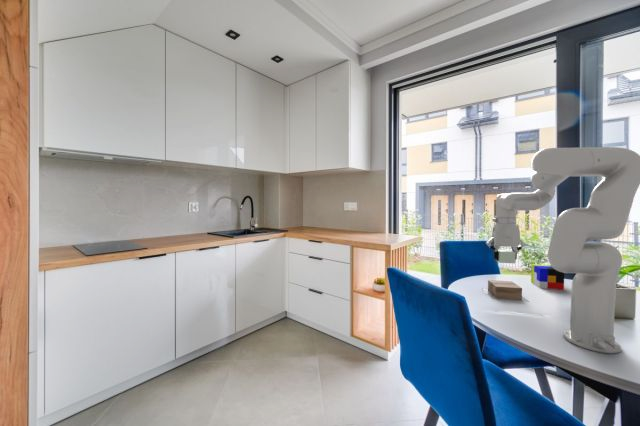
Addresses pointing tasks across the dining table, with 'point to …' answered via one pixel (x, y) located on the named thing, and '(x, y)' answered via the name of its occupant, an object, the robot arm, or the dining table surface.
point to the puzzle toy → (547, 277)
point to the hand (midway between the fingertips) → (504, 260)
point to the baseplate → (504, 298)
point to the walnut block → (504, 289)
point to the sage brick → (506, 256)
